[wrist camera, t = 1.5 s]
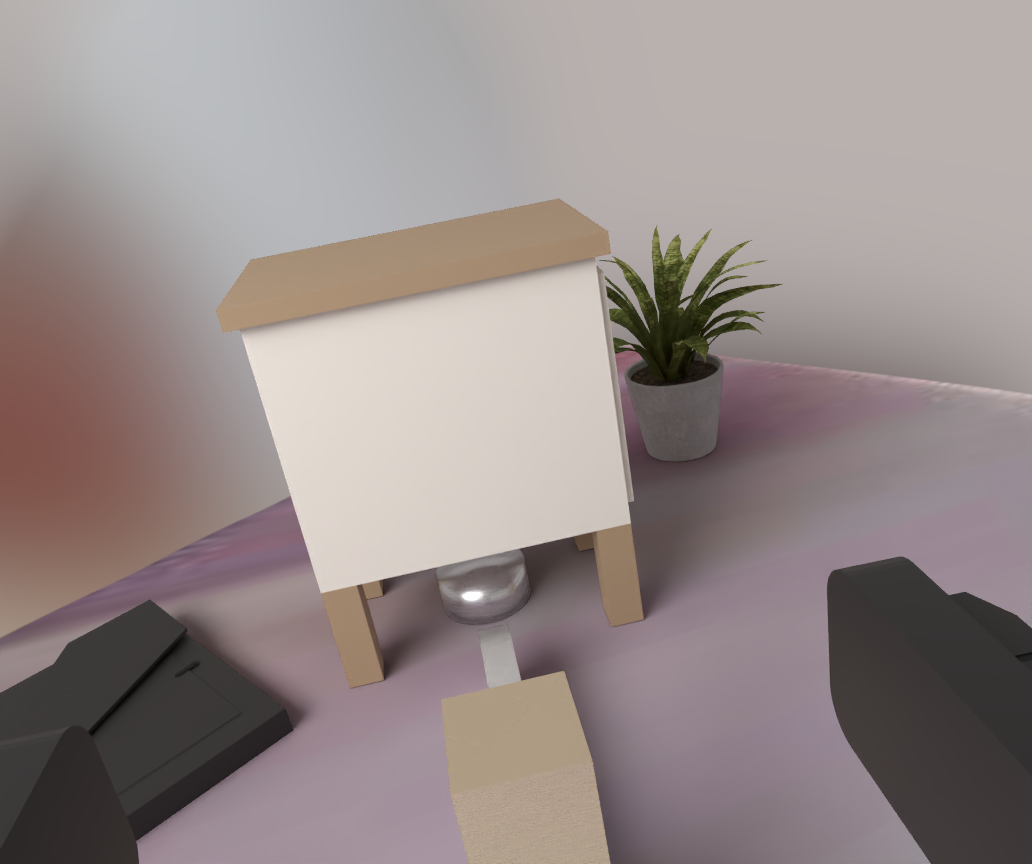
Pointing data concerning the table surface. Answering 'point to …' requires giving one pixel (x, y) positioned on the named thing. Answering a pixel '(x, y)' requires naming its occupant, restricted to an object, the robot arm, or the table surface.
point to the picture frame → (149, 711)
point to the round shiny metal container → (484, 588)
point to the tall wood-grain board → (521, 767)
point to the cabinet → (442, 403)
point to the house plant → (676, 352)
